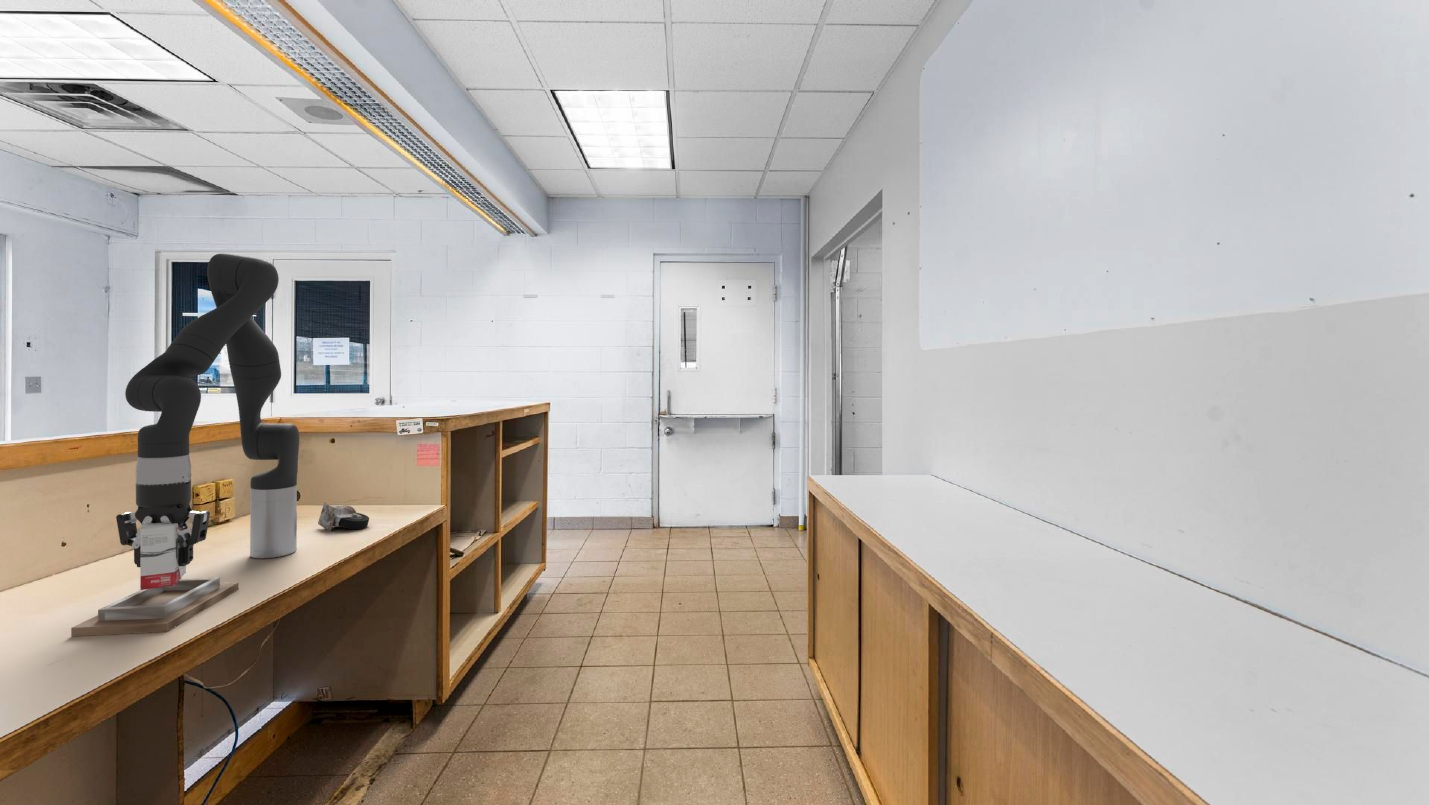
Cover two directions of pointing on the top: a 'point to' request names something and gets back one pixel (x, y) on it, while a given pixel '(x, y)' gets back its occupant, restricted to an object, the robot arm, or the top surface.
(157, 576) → the ink box
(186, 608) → the locator board
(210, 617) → the top surface
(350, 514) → the caster wheel
